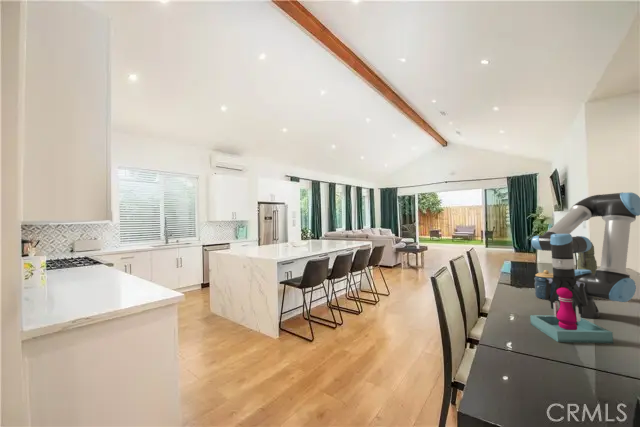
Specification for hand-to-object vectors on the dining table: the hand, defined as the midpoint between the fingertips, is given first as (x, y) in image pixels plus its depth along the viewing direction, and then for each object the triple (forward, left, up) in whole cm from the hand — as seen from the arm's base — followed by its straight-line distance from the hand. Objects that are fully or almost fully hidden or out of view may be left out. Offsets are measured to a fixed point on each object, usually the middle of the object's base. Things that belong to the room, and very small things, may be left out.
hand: (567, 318), depth 125 cm
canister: (-24, -57, -7) cm, 62 cm away
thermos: (-47, -57, -7) cm, 74 cm away
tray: (0, 0, -7) cm, 7 cm away
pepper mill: (0, 0, -4) cm, 4 cm away
